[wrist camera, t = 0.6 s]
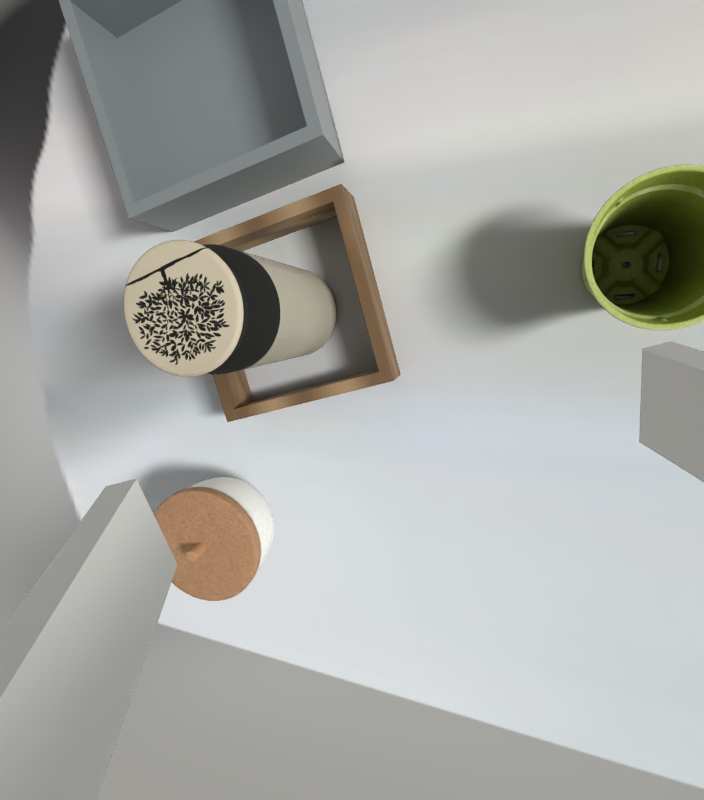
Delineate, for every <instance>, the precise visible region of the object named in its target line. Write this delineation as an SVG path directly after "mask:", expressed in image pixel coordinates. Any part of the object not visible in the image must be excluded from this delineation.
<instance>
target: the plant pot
mask: <svg viewBox="0 0 704 800" xmlns="http://www.w3.org/2000/svg"><path fill="white" fill-rule="evenodd" d="M626 231H635V233H636V235H635V236H621V237H616V235H617V233H621V232H626ZM658 253H659V254H660V255H661V257H662V263H663V264H662V268H661V270H660V271H659V272H657V271H656V267H657V257H658V255H657V254H658ZM592 259H594V266H593V271H592ZM624 262H629V263H630V266H629V268H623V263H624ZM581 271H582V278H583V282H584V285H585V286H586V288H587V290H588V291H589V292H590V293H591V294H592V295H593V296H594V297H595V298H596V300H597V301H598V303H599V304H600V305H601V306H602V307H603V308H604V309H605V310H606V311H607V312H608V313H609V314H611V315H612V316H614V317H615V318H617V319H618V320H620V321H622V322H624V323H627V324H629V325H632V326H635V327H638V328H643V329H650V330H672V329H679V328H684V327H688V326H692V325H695V324H698V323H700V322H703V321H704V166H703V165H692V164H685V165H675V166H669V167H664V168H660V169H656V170H653V171H651V172H648V173H646V174H643V175H641V176H639V177H637V178H635V179H634V180H632V181H630V182H629V183H627V184H626V185H625V186H623V187H622V188H621V189H619V190H618V191H617V192H616V193H615V194H614V195H613V196H612V197H611V198H610V199H609V200H608V201H607V202H606V203H605V204H604V205H603V207H602V208H601V209H600V211H599V212H598V214H597V215H596V217H595V218H594V220H593V222H592V224H591V227H590V229H589V232H588V234H587V238H586V241H585V246H584V256H583V261H582V268H581ZM593 272H594V276H593ZM627 294H634V296H633V297H632V298H628V299H617V298H615V295H627Z"/></svg>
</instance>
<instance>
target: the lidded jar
mask: <svg viewBox="0 0 704 800" xmlns="http://www.w3.org/2000/svg"><path fill="white" fill-rule="evenodd" d="M155 518H156V520H157V522H158V524H159V527H160V529H161V531H162V533H163V535H164V537H165V539H166V541H167V543H168V545H169V547H170V549H171V552H172V554H173V556H174V558H175V560H176V562H177V567H176V570H175V573H174V576H173V579H172V581H171V582H172V583H173V584H174V585H175V586H176V587H178V588H179V589H180V590H182V591H184V592H185V593H187V594H189V595H191V596H193V597H196V598H199V599H203V600H208V601H219V600H226V599H229V598H232V597H234V596H236V595H237V594H239V593H241V592H242V591H243V590H244V589H245V588H246V587H247V586H248V584H249V583H250V582H251V581H252V579H253V578H254V576H255V574H256V572H257V571H258V570H259V569H260V567H261V566H262V564H263V563H264V561H265V559H266V557H267V555H268V553H269V551H270V548H271V545H272V542H273V536H274V519H273V515H272V511H271V509H270V506H269V504H268V502H267V500H266V499H265V498H264V496H263V495H262V494H261V493H260V492H259V491H258V490H257V489H256V488H255V487H253V486H252V485H250V484H249V483H247V482H244V481H242V480H240V479H236V478H229V477H216V478H211V479H207V480H203V481H200V482H198V483H196V484H193V485H191V486H189V487H187V488H185V489H183V490H181V491H179V492H177V493H175V494H173V495H171V496H170V497H169V498H167V499H166V500H165V501H164V502H163V503H162V504H161V505H160V507H159V508H158V510H157V511H156V513H155Z"/></svg>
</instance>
